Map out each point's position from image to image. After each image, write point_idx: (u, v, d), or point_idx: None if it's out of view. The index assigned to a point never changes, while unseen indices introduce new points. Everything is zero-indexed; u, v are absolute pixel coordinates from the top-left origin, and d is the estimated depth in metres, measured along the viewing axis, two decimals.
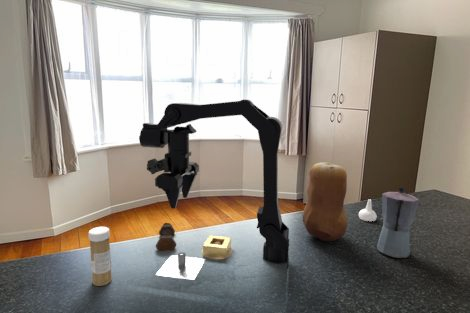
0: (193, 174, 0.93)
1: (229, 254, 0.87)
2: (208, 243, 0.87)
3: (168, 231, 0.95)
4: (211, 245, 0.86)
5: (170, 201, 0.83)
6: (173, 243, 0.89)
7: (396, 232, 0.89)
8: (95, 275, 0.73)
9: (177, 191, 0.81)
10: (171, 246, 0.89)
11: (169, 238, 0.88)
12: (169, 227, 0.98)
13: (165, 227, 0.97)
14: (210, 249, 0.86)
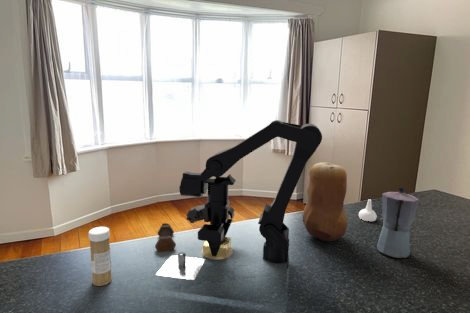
0: (228, 221, 0.92)
1: (229, 254, 0.87)
2: None
3: (167, 231, 0.95)
4: None
5: (212, 250, 0.84)
6: (172, 243, 0.88)
7: (396, 232, 0.89)
8: (95, 275, 0.73)
9: (220, 241, 0.82)
10: (170, 247, 0.88)
11: (168, 238, 0.88)
12: (168, 227, 0.97)
13: (164, 227, 0.97)
14: None
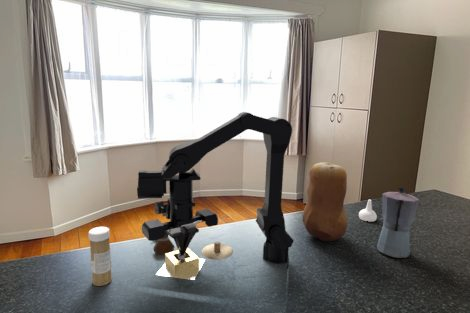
0: (191, 230, 0.78)
1: (229, 254, 0.87)
2: (172, 254, 0.81)
3: None
4: (170, 256, 0.80)
5: (177, 246, 0.79)
6: (171, 245, 0.87)
7: (396, 232, 0.89)
8: (95, 275, 0.73)
9: (177, 239, 0.76)
10: (169, 249, 0.87)
11: (167, 240, 0.87)
12: None
13: None
14: (168, 260, 0.79)
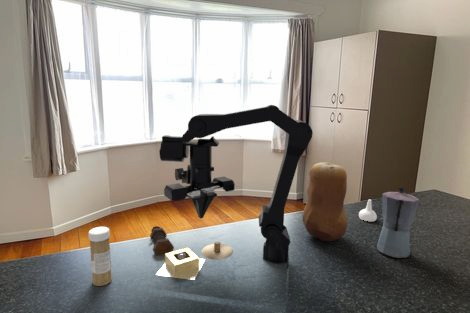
0: (210, 194, 0.83)
1: (229, 254, 0.87)
2: (172, 254, 0.81)
3: (161, 234, 0.93)
4: (170, 256, 0.80)
5: (196, 210, 0.84)
6: (171, 246, 0.87)
7: (396, 232, 0.89)
8: (95, 275, 0.73)
9: (197, 202, 0.81)
10: (169, 249, 0.87)
11: (167, 241, 0.87)
12: (161, 230, 0.95)
13: (157, 231, 0.95)
14: (168, 260, 0.79)
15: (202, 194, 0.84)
